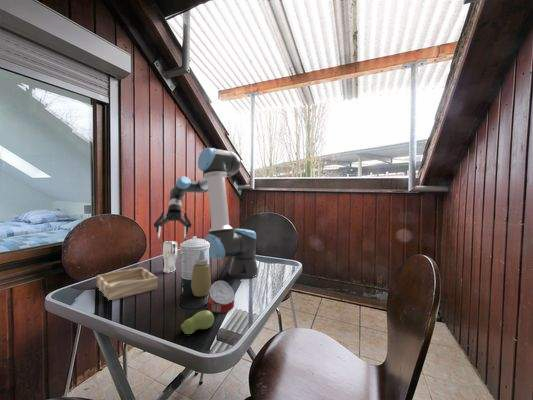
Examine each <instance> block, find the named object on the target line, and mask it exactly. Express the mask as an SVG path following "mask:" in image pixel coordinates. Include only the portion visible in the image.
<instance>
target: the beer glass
mask: <svg viewBox="0 0 533 400" xmlns="http://www.w3.org/2000/svg"><path fill="white" fill-rule="evenodd" d="M162 246H163V247H162V256H163V257H162V258H163V263H164V264H163V265H164V266H163V271H162V272H163V273H166V274H171V273H170V272H172V273H174V272H173V271H175V270H176V271H177V267H176V261H177V257H178V241H175V240H169V241H168V240H167V241H164V242H163V245H162ZM176 271H175V272H176Z"/></svg>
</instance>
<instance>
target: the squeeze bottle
mask: <svg viewBox="0 0 533 400" xmlns="http://www.w3.org/2000/svg"><path fill="white" fill-rule="evenodd" d="M208 261H209V260H208V258H206V256H205V250H203V249H202V250H200V252H199V257H198V258H197V259H195V264H194V265H193V266H192V274H191V280H190V281H191V282H190V288H191V291H192V294H193V296H194V297H198V298H199V297H205V296H207V295H209V290H210V287H211V285H212V280H211V279H212V277H211V265H210V264H209V262H208Z"/></svg>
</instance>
